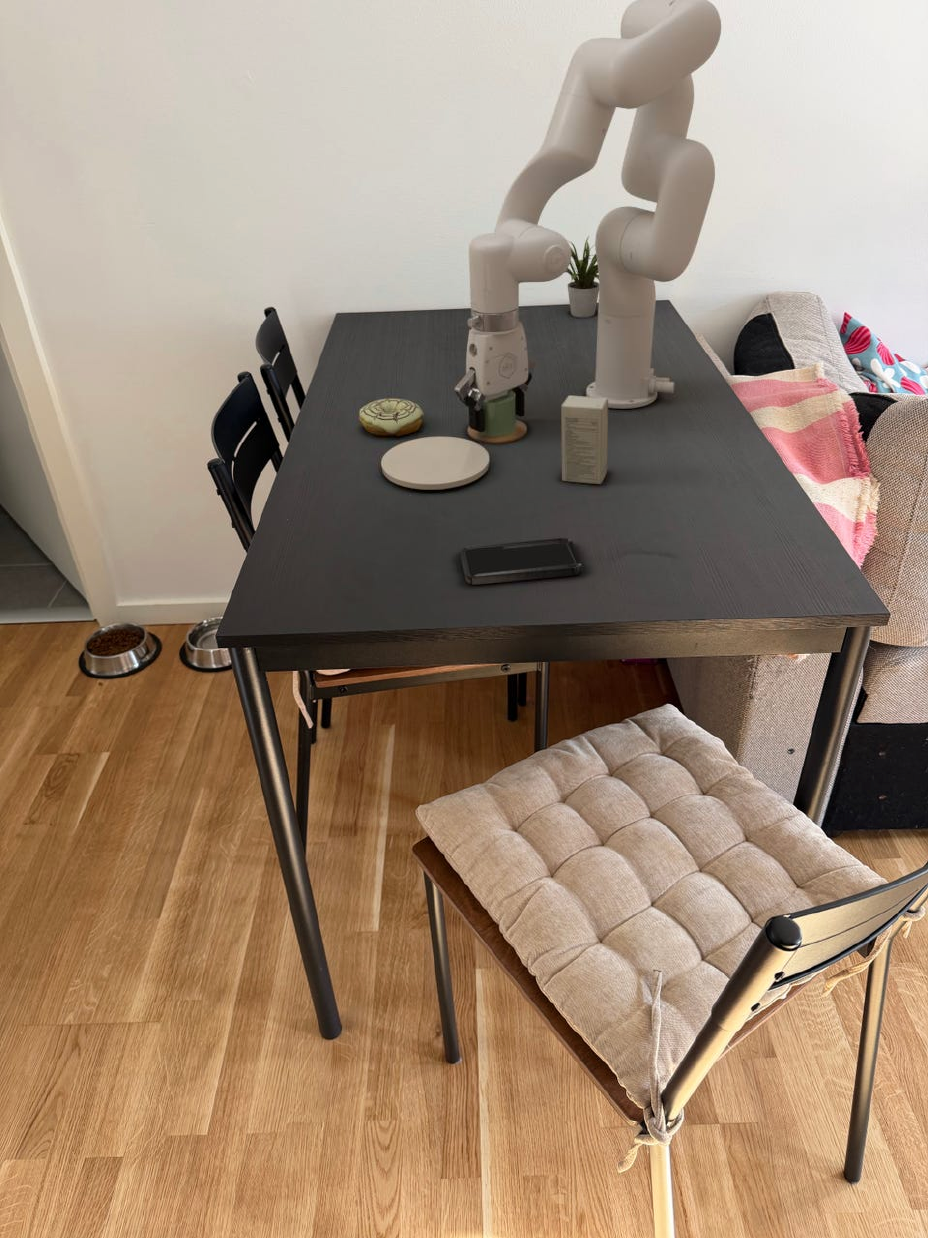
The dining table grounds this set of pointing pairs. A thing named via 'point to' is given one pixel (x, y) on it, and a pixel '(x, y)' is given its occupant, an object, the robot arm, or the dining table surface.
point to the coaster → (516, 435)
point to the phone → (520, 561)
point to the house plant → (583, 284)
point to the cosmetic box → (584, 439)
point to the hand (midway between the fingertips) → (497, 421)
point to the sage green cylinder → (499, 414)
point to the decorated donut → (391, 417)
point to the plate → (435, 463)
